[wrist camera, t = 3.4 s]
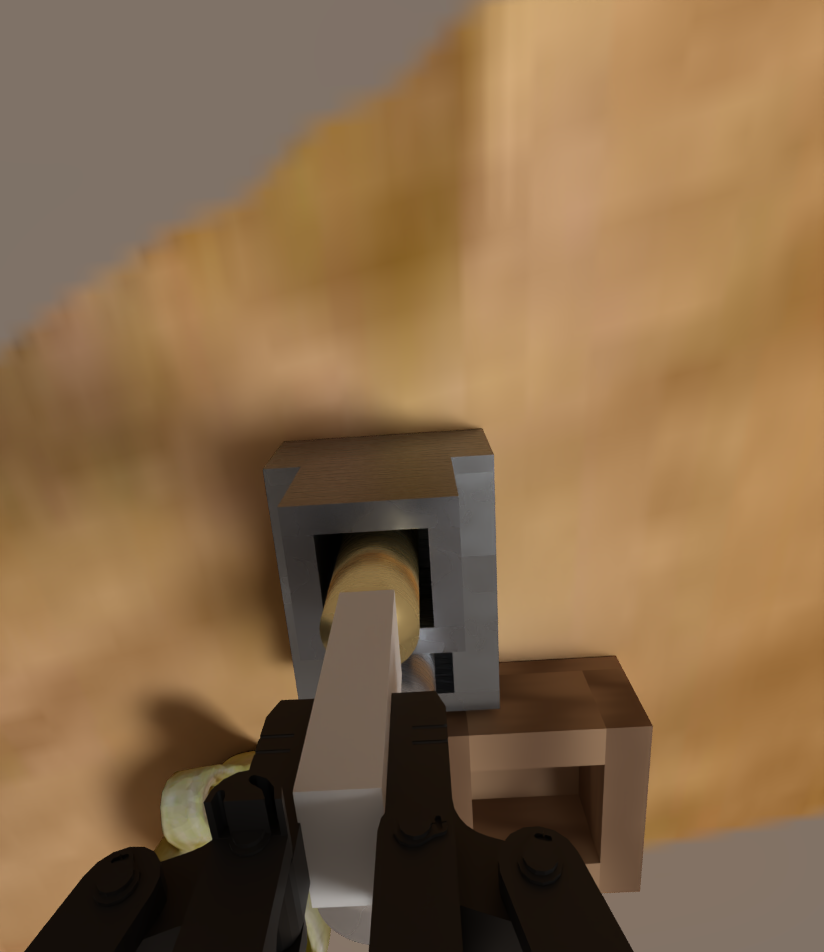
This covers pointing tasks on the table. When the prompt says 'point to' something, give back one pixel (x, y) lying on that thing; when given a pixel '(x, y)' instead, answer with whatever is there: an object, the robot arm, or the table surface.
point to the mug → (192, 831)
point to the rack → (559, 762)
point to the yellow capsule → (379, 578)
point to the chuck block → (395, 508)
